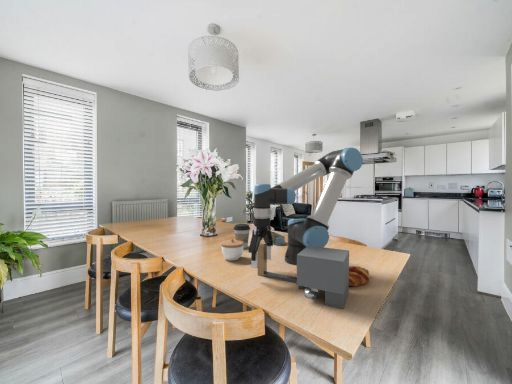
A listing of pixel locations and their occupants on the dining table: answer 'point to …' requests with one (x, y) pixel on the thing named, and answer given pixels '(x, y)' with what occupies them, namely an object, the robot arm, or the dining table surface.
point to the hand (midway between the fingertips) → (261, 263)
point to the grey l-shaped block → (325, 273)
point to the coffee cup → (242, 233)
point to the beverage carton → (277, 239)
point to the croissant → (358, 276)
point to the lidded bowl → (232, 249)
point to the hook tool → (263, 266)
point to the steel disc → (311, 293)
